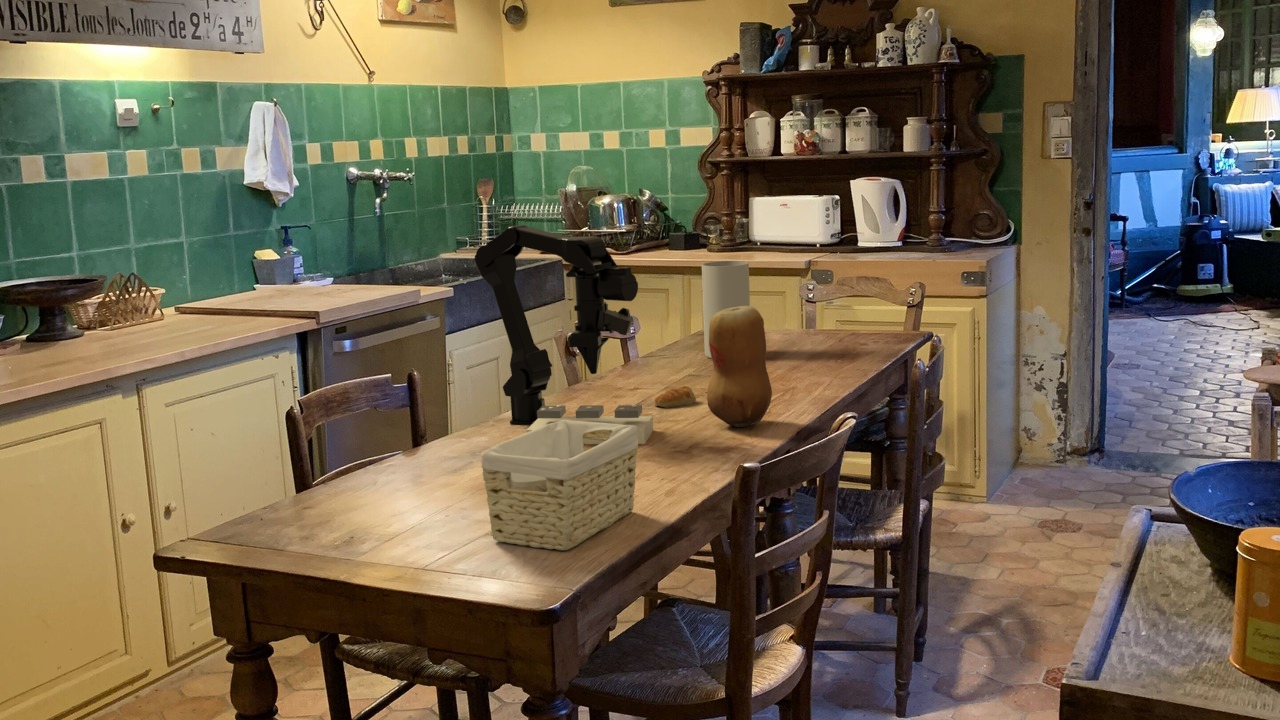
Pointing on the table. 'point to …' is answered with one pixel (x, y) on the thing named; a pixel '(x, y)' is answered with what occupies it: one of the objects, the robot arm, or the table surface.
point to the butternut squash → (738, 367)
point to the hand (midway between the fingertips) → (593, 373)
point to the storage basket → (560, 483)
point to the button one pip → (589, 411)
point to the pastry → (676, 397)
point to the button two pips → (628, 411)
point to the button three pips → (551, 411)
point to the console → (642, 423)
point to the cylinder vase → (723, 290)
